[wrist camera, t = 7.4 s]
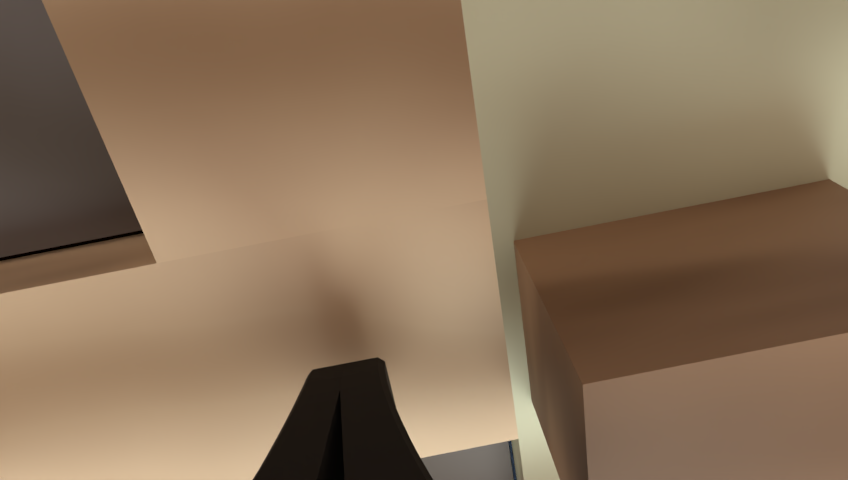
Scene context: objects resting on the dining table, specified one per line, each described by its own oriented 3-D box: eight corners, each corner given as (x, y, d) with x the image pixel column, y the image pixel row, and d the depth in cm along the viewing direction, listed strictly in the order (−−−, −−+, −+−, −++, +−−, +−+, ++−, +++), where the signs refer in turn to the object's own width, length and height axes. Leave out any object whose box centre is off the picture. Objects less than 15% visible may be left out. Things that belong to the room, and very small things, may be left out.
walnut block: (802, 347, 13) (962, 501, 10) (531, 400, 13) (593, 574, 10) (829, 178, 11) (1039, 295, 8) (513, 240, 11) (582, 384, 8)
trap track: (762, 489, 18) (794, 535, 16) (-125, 664, 18) (-164, 724, 16) (861, -235, 10) (941, -259, 8) (-763, 76, 10) (-940, 102, 8)
